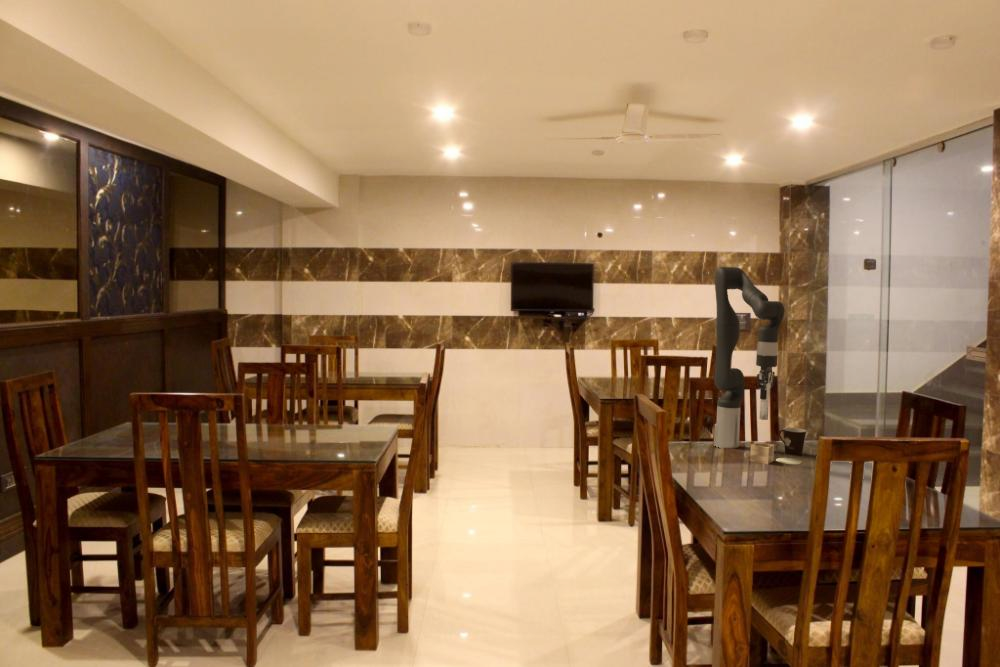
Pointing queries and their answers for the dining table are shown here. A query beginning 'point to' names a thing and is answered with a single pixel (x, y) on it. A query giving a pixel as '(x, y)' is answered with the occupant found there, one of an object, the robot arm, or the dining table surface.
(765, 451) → the holder
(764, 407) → the rod
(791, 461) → the saucer
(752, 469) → the dining table surface
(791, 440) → the coffee mug
